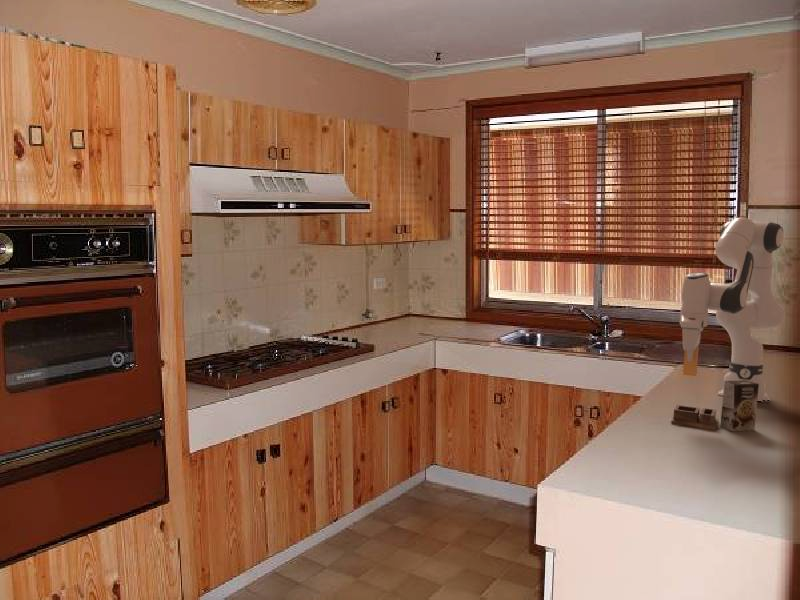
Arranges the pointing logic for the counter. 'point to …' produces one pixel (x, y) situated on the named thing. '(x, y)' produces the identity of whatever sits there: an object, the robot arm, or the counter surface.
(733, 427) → the coffee box
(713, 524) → the counter surface
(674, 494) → the counter surface
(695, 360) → the square peg
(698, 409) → the socket holder
